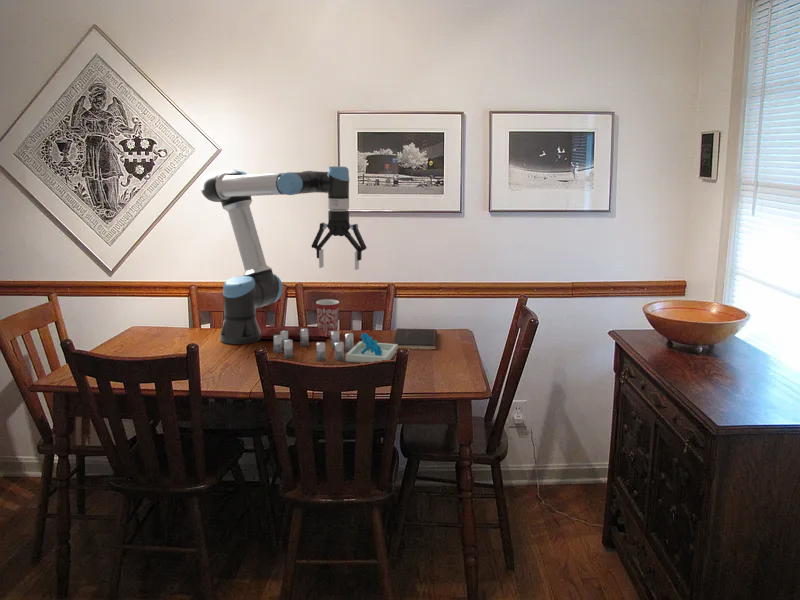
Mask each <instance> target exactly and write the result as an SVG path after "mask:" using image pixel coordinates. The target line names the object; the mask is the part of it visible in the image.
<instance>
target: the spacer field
mask: <svg viewBox="0 0 800 600" xmlns="http://www.w3.org/2000/svg"><path fill="white" fill-rule="evenodd" d="M272 336H273V337H272V338H273V339H272V341H273V353H275V354H281V353H283V357H284V359H293V358H294V356H293V355H294V352H293V350H294V349H293V347H294V346H293V341H294V340H293V339H290V338H289V331H288V330H281V331H279V334H273V335H272ZM299 336H300V338H299V340H300V344H299V345H300V346H301V347H307V346H309V344H310V343H309V341H310V340H309V329H308V328H306V327H305V328H300V330H299ZM344 338H345V339H344V341H340V331H339V330H337V331H331V338H330V348H331V349H334V360H335V361H336V362H337V361H340V362H341V361H344V359H345V358H344V357H345V356H344V355H345V354H344V351H346V352H349V351H350V350H351V349H352V348H353V347H354V333H352V332H346V333H345V334H344ZM344 344H345V345H344ZM344 347H345V348H344ZM316 361H318V362H324V361H326V342H324V341H317V342H316Z"/></svg>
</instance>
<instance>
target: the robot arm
mask: <svg viewBox="0 0 800 600" xmlns="http://www.w3.org/2000/svg"><path fill="white" fill-rule="evenodd" d="M349 172H350V171H349V168H348V167H347V166H337V165H336V166H328V168H327V171H315V170H306V171H305V170H303V171H301V172H300V171H296V172H291V171H289V172H279V173H277V172H276V173H275V172H274V173H262V174H261V173H260V174H259V173H257V174H256V173H255V174H248V173H246V172H245V171H242V170H238V169H231V170H230V169H228V170H214V171H210V172H208V173H206V174H205V175H204V176H203V177H202V178H201V181H200V191H201V193H202V195H203V197H204V198H206V199H207V200H208V201H210V202H215V203H221V205H222V206H221V207H222V209H223V210H224V211H226V212H227V214H228V217H229V220H230V224H231V227H232V231H233V234H234V237H235V241H236V243H237V248H238V251H239V254H240V257H241V261H242V265H243V269H244V273H243V274H242V275H238V276H233V277H230V278H228V279H226V280H225V281H224V283H223V286H222V287H223V288H222V295H223V296H222V298H223V314H224V315H223V316H224V320H223V324H222V328H221V331H220V334H219V335H220V336H219V337H220V341H221V342H222V343H225V344H227V345H229V344H230V345H248V344H252V343H256V342H258V341H259V342H260V341H261V339H260V335H261V336H262V333H261V329H260V325H259V324H258V321H257V312H256V310H257V309H258V308H262V307H264V306H265V307H266V306H270V305H272V304H274V303H276V302H277V301H278V300H279V299H280V298H281V297H282V293H283V283H282V280H281V278H280V277H279V276H277V274H275V273H273V270H272V267H270V266H269V265H267V262H266V259H265V255H264V252H263V249H262V245H261V242H260V241H261V240H260V238H259V235H258V230H257V228H256V224H255V220H254V217H253V214H252V209H251V207H250V206H251V204H252V203H253V200H252V197H256V196H257V197H258V196H278V195H279V196H280V195H281V196H282V195H283V196H284V195H287V196H295V195H301V194H303V195H304V194H309V193H310V194H311V193H313V194H314V193H320V194H321V193H326V194H327V198H328V199H327V206H328V207H327V208H328V212H327V213H328V215H327V217H328V222H327V223H325V222H321V223H319V229H318V231H317V233H316V236H315V237H314V239H313V242H312V244H311V248H313V249H315V250H316V259H318V263H319V264H318V267H319V269H323V268H324V249H322V248H323V247H324V245H326V244H327V242H328V241H329V240H330V238H332V236H334V237H337V236H339V237H343V236H344V237H345V238H346V239H347V240H348V241H349V242H350V244H351V245H352V247H353V248H354V249H355V251H354V270H355V271H357V270H359V269H360V261H361V260H362V252H363V251H366V250H367V249H368V248H367V245H366V243H365V240H364V238H363V237H362V235H361V232H360V231H359V224H358V223H354V224H351V223H350V211H349V209H350V173H349ZM326 229H328V230H329V231H328V232H327V233H326V235H325V236H324V237H323V239H322V240H321V238H322V236H323V233H324V231H325V230H326ZM350 229H351V231H353V234H354V236H355V237H356V240H357V241H356V240H355V238H354V236H352V233H351V232H350V231H349V230H350ZM320 240H321V241H320Z"/></svg>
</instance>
